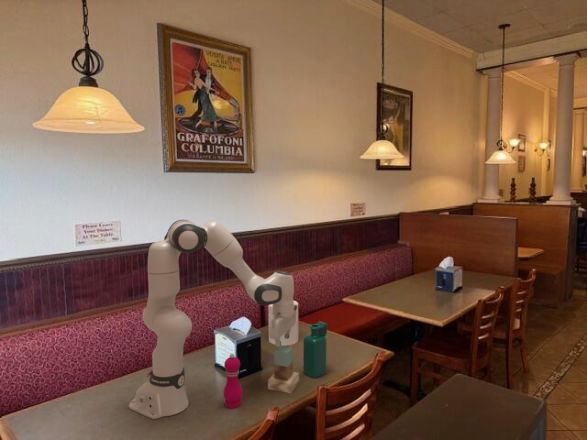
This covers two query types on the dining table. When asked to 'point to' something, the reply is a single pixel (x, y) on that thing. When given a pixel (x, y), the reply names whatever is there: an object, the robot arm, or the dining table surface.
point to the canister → (293, 333)
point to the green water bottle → (315, 350)
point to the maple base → (283, 383)
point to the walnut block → (283, 372)
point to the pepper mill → (232, 383)
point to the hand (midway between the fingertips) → (282, 342)
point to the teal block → (283, 355)
